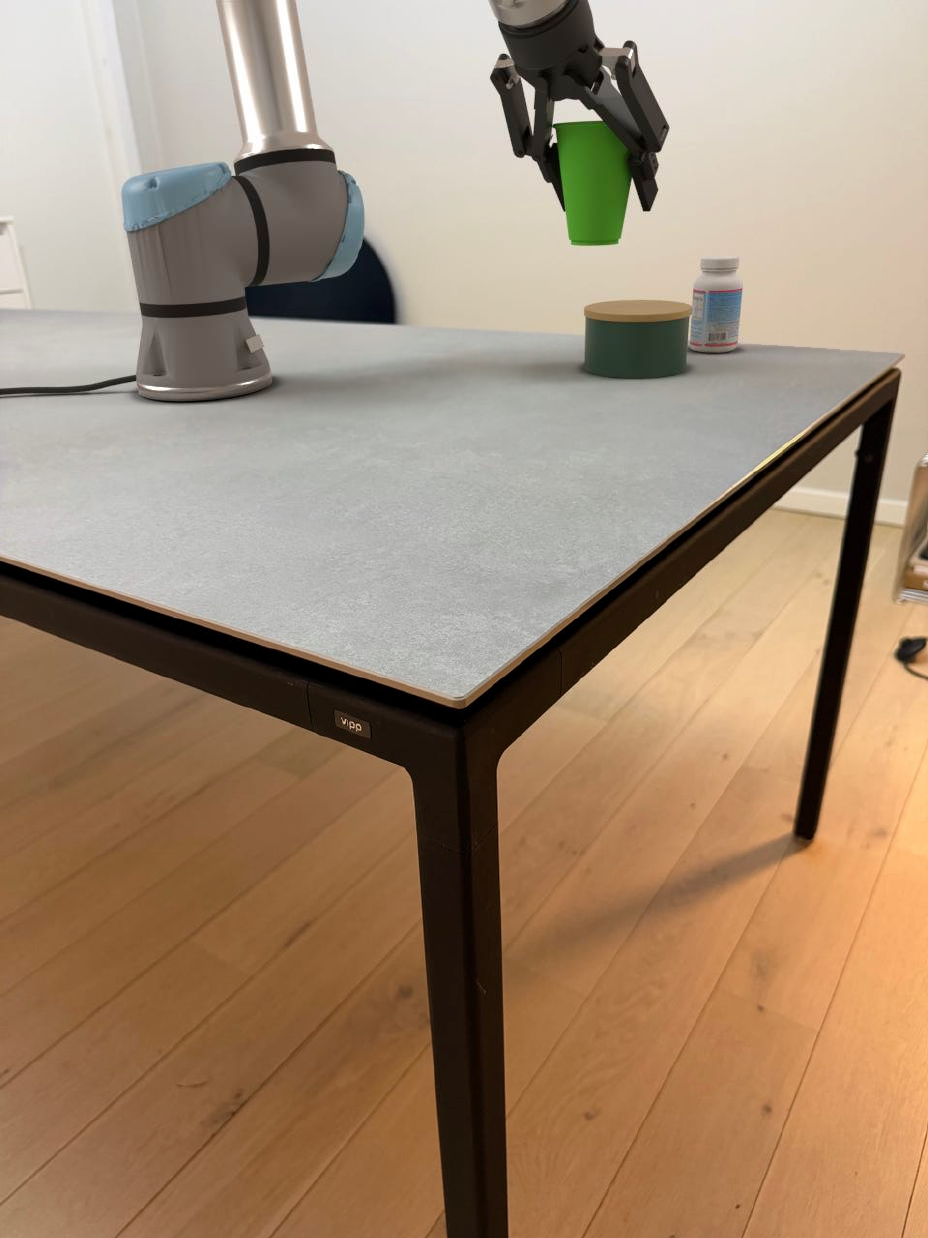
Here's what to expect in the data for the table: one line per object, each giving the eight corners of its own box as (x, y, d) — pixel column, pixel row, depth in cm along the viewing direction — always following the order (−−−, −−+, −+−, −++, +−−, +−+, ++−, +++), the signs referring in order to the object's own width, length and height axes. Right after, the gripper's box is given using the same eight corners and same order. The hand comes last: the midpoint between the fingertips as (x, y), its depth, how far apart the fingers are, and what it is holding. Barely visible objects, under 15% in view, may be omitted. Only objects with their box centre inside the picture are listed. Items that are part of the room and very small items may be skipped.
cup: (543, 247, 92) (544, 122, 87) (558, 240, 100) (560, 125, 95) (634, 246, 90) (641, 118, 85) (642, 239, 97) (648, 121, 93)
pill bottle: (743, 347, 120) (752, 254, 115) (727, 355, 115) (736, 259, 110) (699, 343, 123) (706, 253, 118) (681, 351, 119) (688, 258, 114)
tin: (605, 382, 103) (608, 317, 100) (567, 362, 114) (568, 303, 111) (706, 373, 106) (711, 310, 103) (659, 354, 117) (663, 297, 114)
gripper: (416, 44, 81) (509, 229, 100) (642, 18, 70) (697, 231, 89) (447, -21, 82) (532, 174, 101) (672, -55, 72) (720, 169, 91)
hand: (609, 200), depth 95 cm, fingers closed on cup, 8 cm apart
